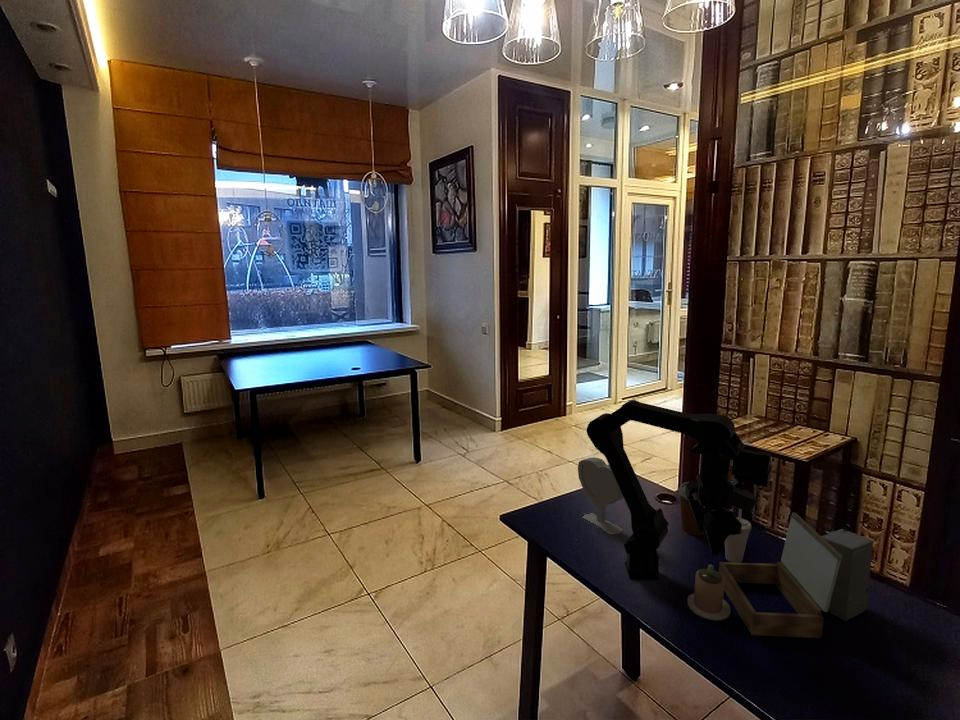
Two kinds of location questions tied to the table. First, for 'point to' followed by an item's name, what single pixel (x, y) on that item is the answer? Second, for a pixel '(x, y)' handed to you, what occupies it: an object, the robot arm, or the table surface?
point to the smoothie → (737, 542)
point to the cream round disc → (710, 616)
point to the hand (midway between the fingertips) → (708, 542)
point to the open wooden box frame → (781, 623)
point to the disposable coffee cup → (687, 513)
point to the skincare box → (850, 573)
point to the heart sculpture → (599, 491)
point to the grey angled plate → (811, 561)
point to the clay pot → (709, 590)
